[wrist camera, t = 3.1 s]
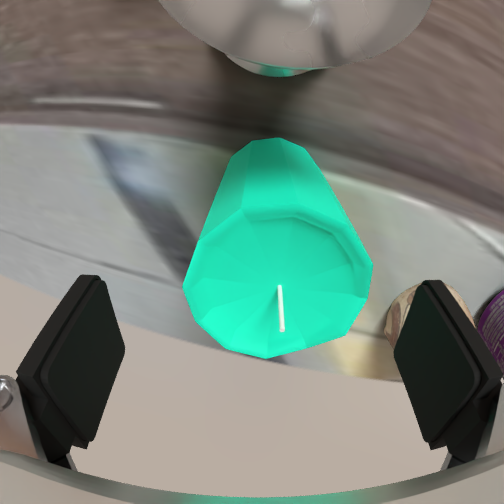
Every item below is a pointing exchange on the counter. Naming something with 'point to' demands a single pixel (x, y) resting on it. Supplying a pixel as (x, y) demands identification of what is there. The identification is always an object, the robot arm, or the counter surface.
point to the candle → (276, 256)
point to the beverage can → (494, 328)
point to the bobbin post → (298, 30)
